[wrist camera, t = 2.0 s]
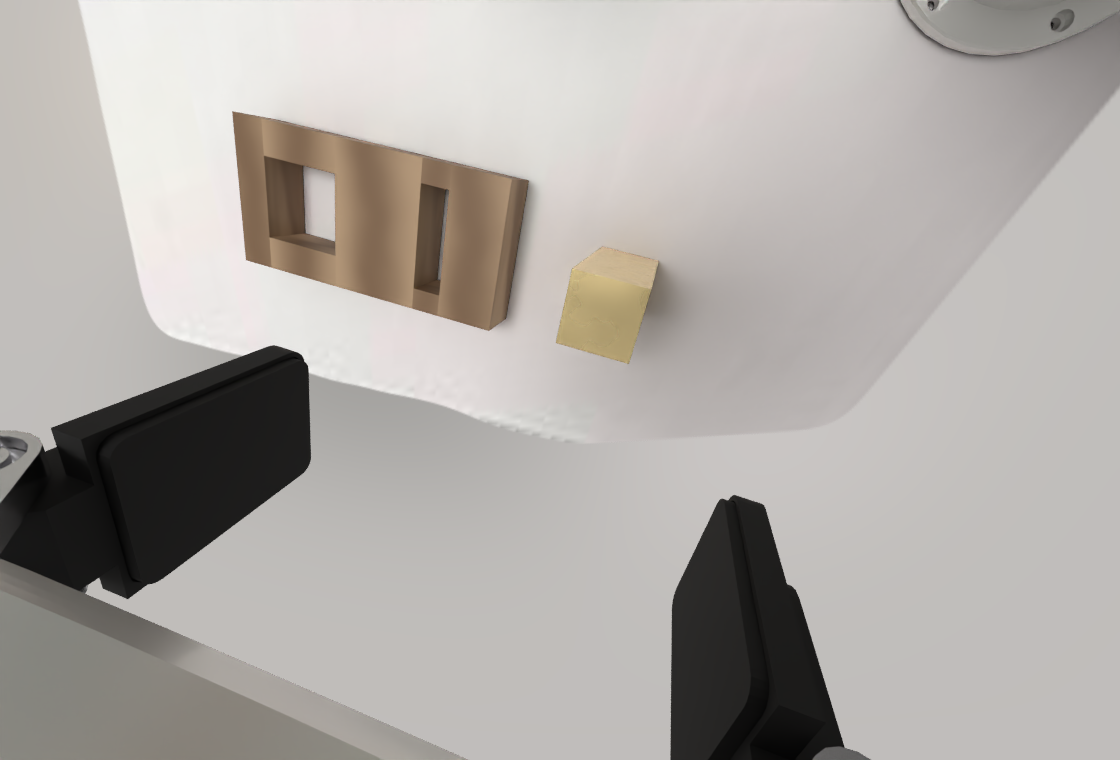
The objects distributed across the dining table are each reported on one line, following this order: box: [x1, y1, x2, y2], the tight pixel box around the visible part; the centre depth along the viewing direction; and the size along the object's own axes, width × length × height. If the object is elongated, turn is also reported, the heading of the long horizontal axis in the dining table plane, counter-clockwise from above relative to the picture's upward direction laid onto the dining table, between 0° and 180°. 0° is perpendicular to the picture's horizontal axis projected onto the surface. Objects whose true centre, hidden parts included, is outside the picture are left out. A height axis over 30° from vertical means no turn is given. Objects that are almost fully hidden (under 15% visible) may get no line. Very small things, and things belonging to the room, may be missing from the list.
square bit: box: [556, 247, 659, 364], centre depth 27 cm, size 4×4×10 cm
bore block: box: [232, 111, 529, 331], centre depth 32 cm, size 20×10×4 cm, turn 77°
